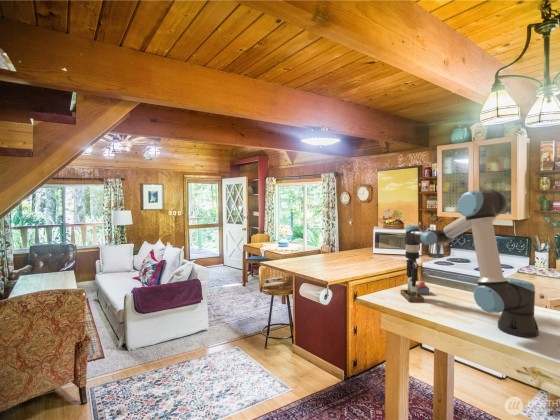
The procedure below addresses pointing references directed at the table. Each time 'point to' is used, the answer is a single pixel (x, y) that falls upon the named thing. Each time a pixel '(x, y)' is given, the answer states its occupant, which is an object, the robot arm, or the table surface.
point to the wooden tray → (412, 298)
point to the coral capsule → (421, 284)
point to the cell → (410, 288)
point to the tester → (422, 290)
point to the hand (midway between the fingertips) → (411, 290)
